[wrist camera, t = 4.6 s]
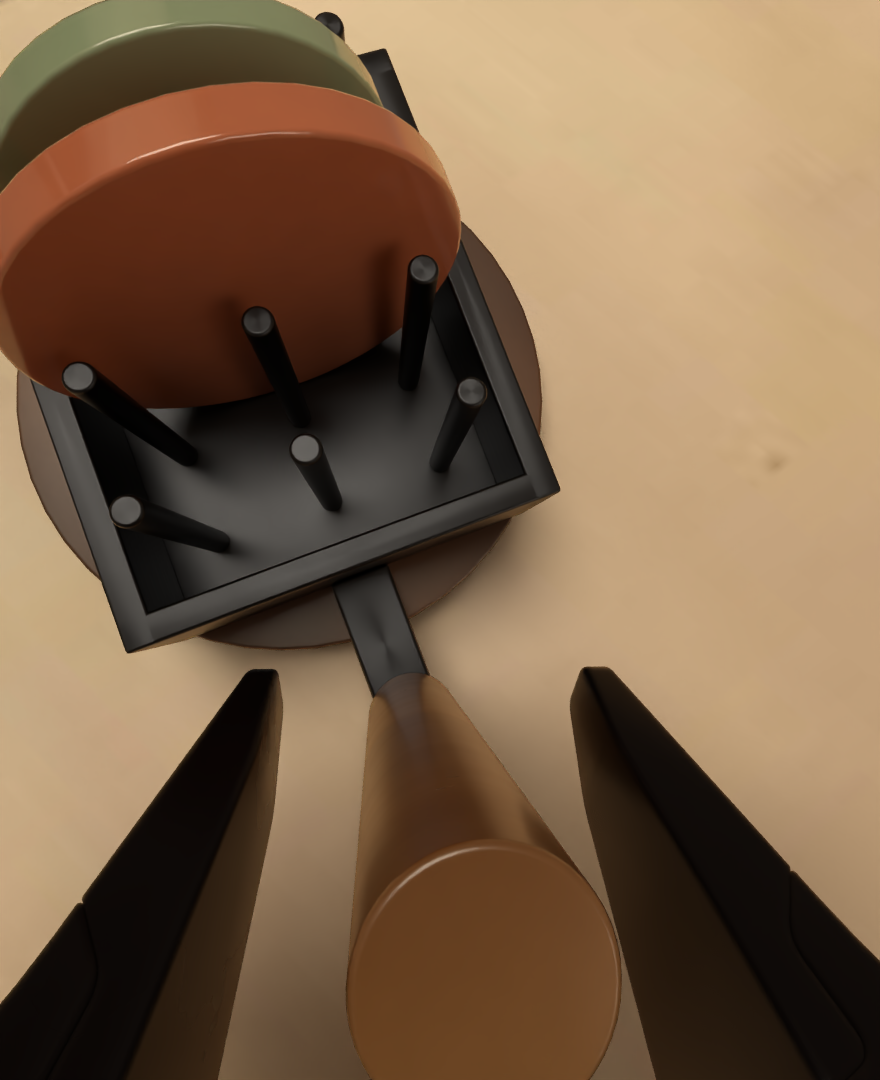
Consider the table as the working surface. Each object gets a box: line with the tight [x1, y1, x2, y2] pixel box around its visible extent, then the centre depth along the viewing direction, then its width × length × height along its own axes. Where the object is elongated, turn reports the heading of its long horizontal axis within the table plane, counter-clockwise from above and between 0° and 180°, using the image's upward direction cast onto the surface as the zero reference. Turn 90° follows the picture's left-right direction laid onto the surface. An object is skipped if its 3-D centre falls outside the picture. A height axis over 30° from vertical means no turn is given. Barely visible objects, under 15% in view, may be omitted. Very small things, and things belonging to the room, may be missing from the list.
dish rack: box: [0, 0, 622, 1080], centre depth 10 cm, size 14×9×10 cm, turn 21°
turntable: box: [17, 221, 542, 650], centre depth 16 cm, size 13×13×2 cm
